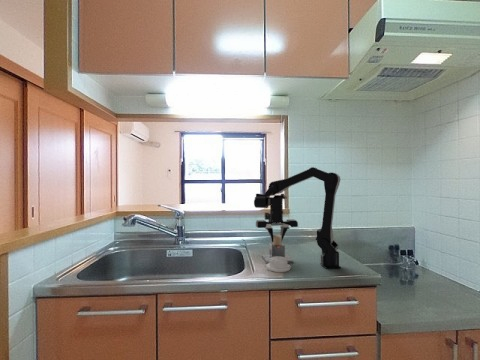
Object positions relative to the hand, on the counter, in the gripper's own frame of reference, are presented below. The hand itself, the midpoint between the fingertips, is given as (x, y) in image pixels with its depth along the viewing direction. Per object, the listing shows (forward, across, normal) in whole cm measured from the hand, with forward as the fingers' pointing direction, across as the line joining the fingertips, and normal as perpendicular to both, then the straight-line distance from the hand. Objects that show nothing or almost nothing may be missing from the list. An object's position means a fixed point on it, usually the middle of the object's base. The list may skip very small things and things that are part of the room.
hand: (276, 242), depth 126 cm
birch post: (+7, 0, 0) cm, 7 cm away
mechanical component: (+8, +2, +13) cm, 15 cm away
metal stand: (+8, 0, 0) cm, 8 cm away
